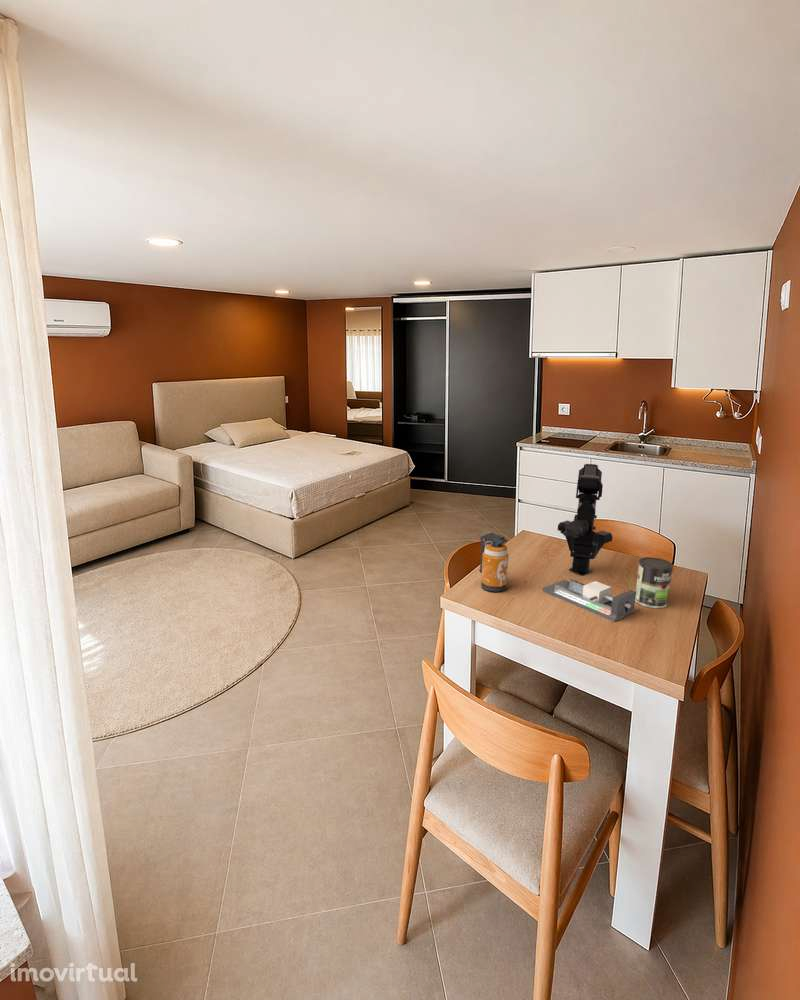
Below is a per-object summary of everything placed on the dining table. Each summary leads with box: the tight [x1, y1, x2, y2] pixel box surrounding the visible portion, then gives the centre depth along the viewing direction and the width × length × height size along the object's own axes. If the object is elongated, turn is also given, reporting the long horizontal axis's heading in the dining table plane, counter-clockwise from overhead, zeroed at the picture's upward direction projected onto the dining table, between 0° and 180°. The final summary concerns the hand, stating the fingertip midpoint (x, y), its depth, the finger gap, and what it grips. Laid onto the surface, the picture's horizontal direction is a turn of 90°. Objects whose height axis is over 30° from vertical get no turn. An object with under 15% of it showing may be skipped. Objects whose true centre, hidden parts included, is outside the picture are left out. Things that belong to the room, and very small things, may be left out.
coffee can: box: [635, 556, 674, 609], centre depth 182 cm, size 10×10×14 cm
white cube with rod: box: [583, 580, 631, 608], centre depth 176 cm, size 9×15×5 cm, turn 37°
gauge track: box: [542, 578, 637, 622], centre depth 183 cm, size 12×28×7 cm, turn 37°
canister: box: [478, 531, 510, 593], centre depth 192 cm, size 9×11×20 cm
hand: (582, 554), depth 193 cm, fingers open, 9 cm apart
